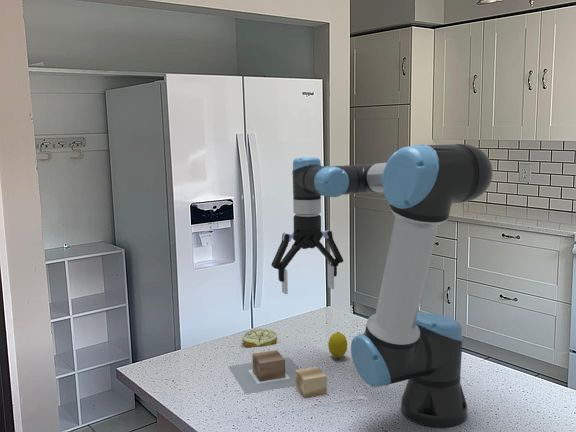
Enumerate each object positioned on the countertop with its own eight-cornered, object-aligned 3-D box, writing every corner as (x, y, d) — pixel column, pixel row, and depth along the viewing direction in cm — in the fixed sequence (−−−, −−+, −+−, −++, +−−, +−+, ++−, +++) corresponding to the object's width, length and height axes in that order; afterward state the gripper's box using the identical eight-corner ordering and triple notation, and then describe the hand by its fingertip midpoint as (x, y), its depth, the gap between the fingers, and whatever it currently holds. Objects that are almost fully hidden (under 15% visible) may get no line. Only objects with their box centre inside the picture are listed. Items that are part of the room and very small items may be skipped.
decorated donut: (235, 345, 179) (235, 333, 178) (259, 335, 187) (259, 324, 186) (260, 353, 172) (260, 341, 172) (283, 343, 180) (283, 331, 180)
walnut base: (285, 377, 152) (285, 359, 151) (260, 381, 150) (259, 363, 149) (277, 367, 159) (276, 350, 158) (252, 371, 156) (252, 353, 156)
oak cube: (326, 398, 143) (326, 376, 142) (304, 402, 141) (303, 379, 140) (317, 388, 148) (317, 366, 148) (295, 392, 146) (295, 370, 146)
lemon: (347, 354, 170) (347, 328, 169) (347, 362, 165) (347, 335, 163) (328, 354, 171) (328, 328, 169) (328, 361, 165) (328, 335, 164)
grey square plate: (312, 387, 149) (312, 382, 149) (245, 398, 143) (245, 394, 143) (289, 361, 166) (289, 357, 166) (228, 370, 160) (228, 366, 160)
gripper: (343, 210, 163) (344, 282, 166) (259, 215, 156) (261, 291, 159) (354, 213, 156) (355, 289, 159) (267, 219, 149) (268, 298, 152)
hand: (308, 290), depth 159 cm, fingers open, 13 cm apart
